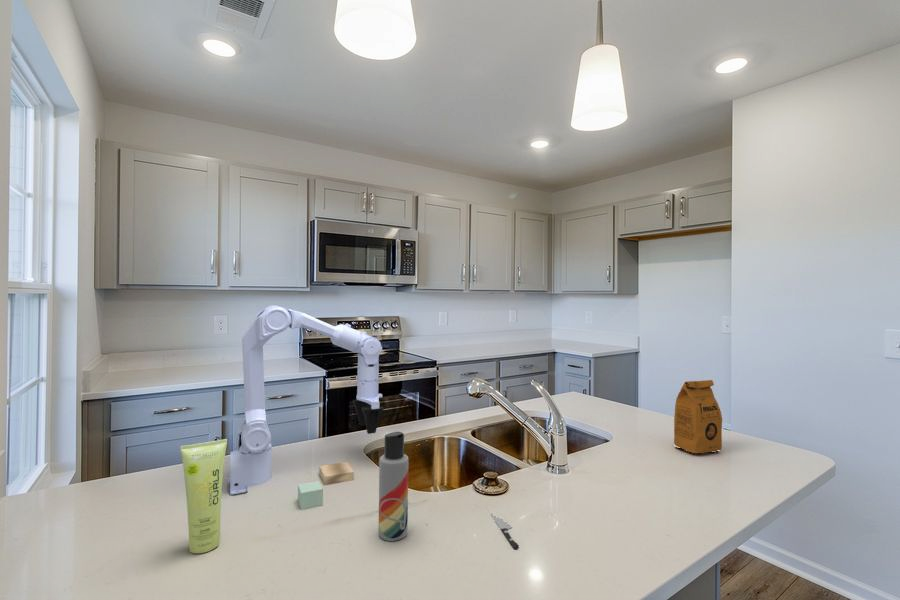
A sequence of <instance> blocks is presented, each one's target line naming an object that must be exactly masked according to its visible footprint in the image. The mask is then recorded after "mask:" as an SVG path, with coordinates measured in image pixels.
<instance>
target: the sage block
mask: <svg viewBox="0 0 900 600" xmlns="http://www.w3.org/2000/svg"><path fill="white" fill-rule="evenodd" d="M297 502H298V505H299V508H300V510H301V511H302V510H307V509H312V508H316V507H321V506H323V504H324V489H323V485H322V484H321V483H320V480H316V481H310V482H305V483H299V484H297Z"/></svg>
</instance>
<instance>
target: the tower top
mask: <svg viewBox="0 0 900 600" xmlns="http://www.w3.org/2000/svg"><path fill="white" fill-rule="evenodd" d="M318 467H319V468H318V476H319V475H320V476H319V477H321V478H320V480H321V479H322V480H321V482H322V481H323V482H322V483H324V484H323V485H324V486H329V485H333V484H339V482H340V483H343V482H350V481H354V479H355V476H354V474H355V473H354V472H355V471H354V470H353V469H352V467H351V465H350V464H349V463H348V461H344V462H336V463H331V464H324V465H319V466H318ZM328 484H329V485H328Z"/></svg>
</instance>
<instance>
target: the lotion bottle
mask: <svg viewBox="0 0 900 600" xmlns="http://www.w3.org/2000/svg"><path fill="white" fill-rule="evenodd" d="M383 450H384V451H383V453H384V454H382V455H381V456H380V457H379V461H378V462H379V464H378V465H379V467H378V474H379V476H378V536H379V537H380V538H381V540H384V541H387V542H397V541H399V540H400V541H401V540H402V539H404V538H405V537H406V536H407V535H408V534H407V533H408V524H409V523H408V516H409V513H408V512H409V456H408V455H407V454H405V434H404V432H402V431H393V432H390V433H387V434H385V435H384V449H383Z"/></svg>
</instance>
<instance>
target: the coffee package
mask: <svg viewBox="0 0 900 600" xmlns="http://www.w3.org/2000/svg"><path fill="white" fill-rule="evenodd" d="M714 385H715V383H714V381H713V380H712V379H709V380H706V379H705V380H691V381H684V383H683V384H682V386H681V388H680V391H679V392H678V394H677V396H676V399H675V406H674V416H673V417H674V419H673V423H674V424H673V425H674V426H673V427H674V428H673V431H674V432H673V433H674V437H673V438H674V439H673V445H674V444H675V445H676V446H678V447H680V448H682V449H684V450H683V451H685V450H687V451H689V452H692V453H691V454H693V453H701V454H705V453H704V452H712V451H717V450H720V451H722V448H723V440H722V439H723V438H722V437H723V436H722V435H723V434H722V429H723V417H722V411H721V408H720V405H719V403H718V401H717V399H716V397H715V395H714V392H713V389H712V388H711V387H713V386H714ZM687 451H686V452H687ZM689 452H688V453H689Z"/></svg>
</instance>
